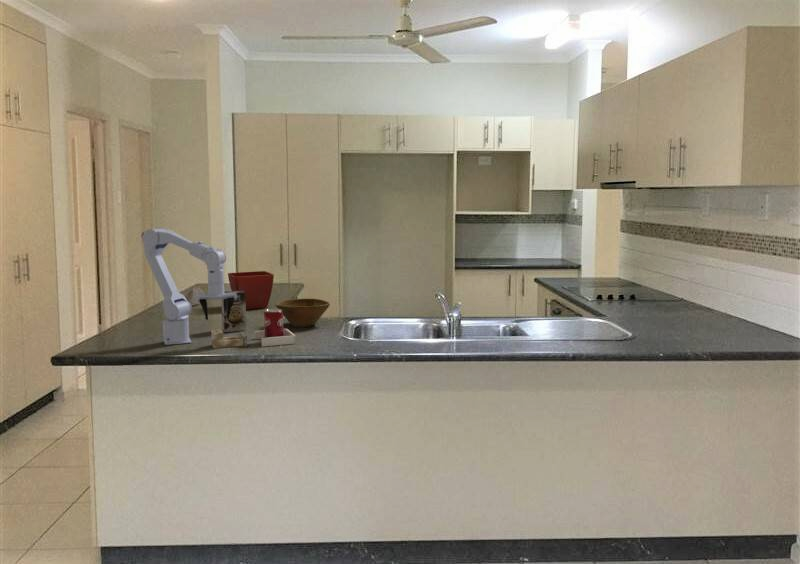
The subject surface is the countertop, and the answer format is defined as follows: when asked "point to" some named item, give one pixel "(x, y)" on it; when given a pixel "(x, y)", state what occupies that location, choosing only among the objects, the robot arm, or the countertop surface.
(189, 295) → the pumice stone
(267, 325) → the soda can
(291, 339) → the white tray
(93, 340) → the countertop surface
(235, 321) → the coffee box
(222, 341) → the tan boxy piece
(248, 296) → the plant pot
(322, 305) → the bowl
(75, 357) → the countertop surface
